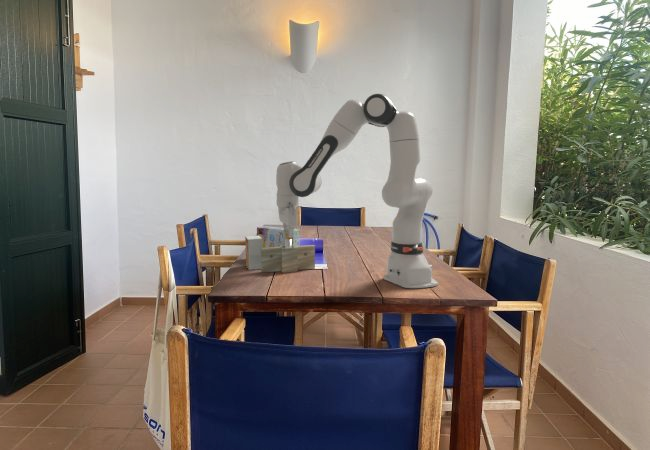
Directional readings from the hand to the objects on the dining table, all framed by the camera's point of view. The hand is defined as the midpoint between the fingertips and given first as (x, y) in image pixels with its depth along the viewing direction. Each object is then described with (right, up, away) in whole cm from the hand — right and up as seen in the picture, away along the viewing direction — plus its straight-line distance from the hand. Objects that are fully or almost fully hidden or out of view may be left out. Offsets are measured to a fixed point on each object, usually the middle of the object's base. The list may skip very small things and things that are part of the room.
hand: (288, 235), depth 197 cm
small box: (-15, -14, +8) cm, 22 cm away
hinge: (0, -15, +2) cm, 15 cm away
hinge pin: (0, -15, +2) cm, 15 cm away
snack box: (-6, -12, +20) cm, 25 cm away
